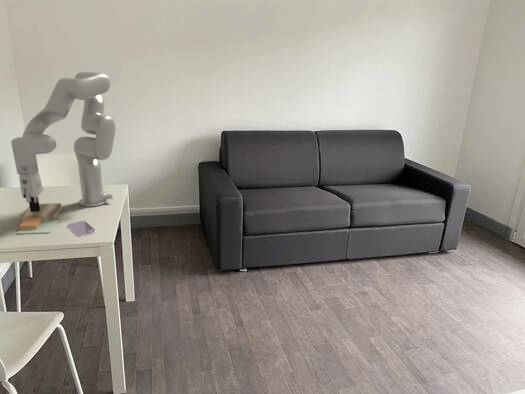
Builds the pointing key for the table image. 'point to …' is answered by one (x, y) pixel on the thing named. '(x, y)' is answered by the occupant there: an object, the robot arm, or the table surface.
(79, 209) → the table surface
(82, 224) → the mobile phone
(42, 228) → the mat
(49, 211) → the plate
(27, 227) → the tile
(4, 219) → the table surface
